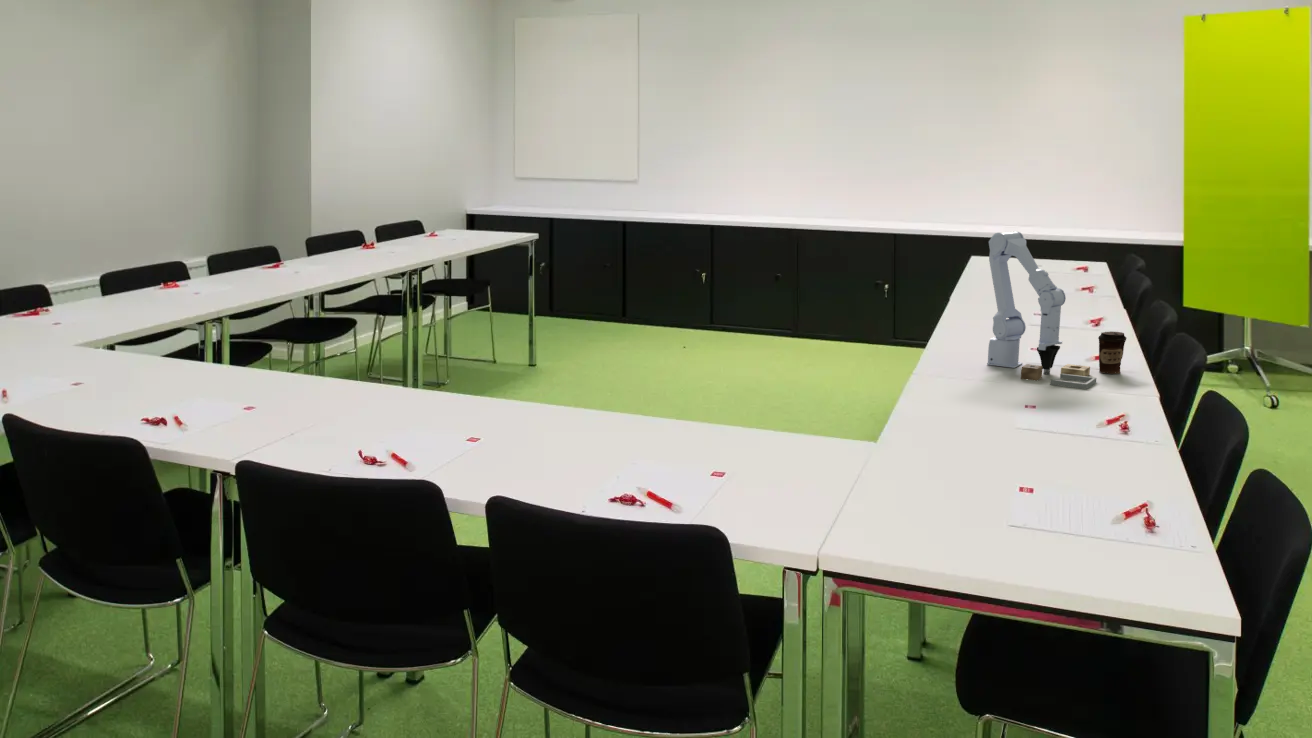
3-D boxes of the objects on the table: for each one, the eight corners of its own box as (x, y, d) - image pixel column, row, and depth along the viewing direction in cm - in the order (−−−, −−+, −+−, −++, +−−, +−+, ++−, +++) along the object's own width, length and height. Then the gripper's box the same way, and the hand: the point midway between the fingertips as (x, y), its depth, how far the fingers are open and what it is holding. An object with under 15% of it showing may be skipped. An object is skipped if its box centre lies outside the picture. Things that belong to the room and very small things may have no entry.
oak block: (1060, 375, 348) (1061, 367, 347) (1067, 371, 353) (1067, 363, 352) (1083, 378, 343) (1083, 370, 343) (1089, 374, 349) (1090, 366, 348)
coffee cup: (1126, 376, 346) (1129, 335, 344) (1098, 375, 348) (1101, 335, 345) (1120, 370, 355) (1123, 330, 352) (1093, 369, 356) (1096, 330, 354)
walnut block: (1020, 379, 344) (1021, 366, 343) (1025, 376, 348) (1026, 363, 347) (1036, 381, 341) (1037, 368, 340) (1041, 378, 345) (1042, 365, 344)
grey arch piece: (1050, 384, 336) (1050, 379, 336) (1060, 378, 344) (1061, 373, 344) (1086, 389, 330) (1086, 384, 329) (1096, 382, 338) (1096, 377, 338)
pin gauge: (1042, 374, 350) (1044, 352, 349) (1044, 372, 352) (1046, 351, 350) (1048, 374, 349) (1050, 353, 348) (1050, 373, 351) (1052, 352, 349)
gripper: (1055, 331, 339) (1052, 374, 342) (1069, 324, 351) (1066, 366, 353) (1032, 329, 343) (1030, 371, 346) (1047, 322, 355) (1044, 363, 358)
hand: (1047, 368), depth 350 cm, fingers closed on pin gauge, 2 cm apart
